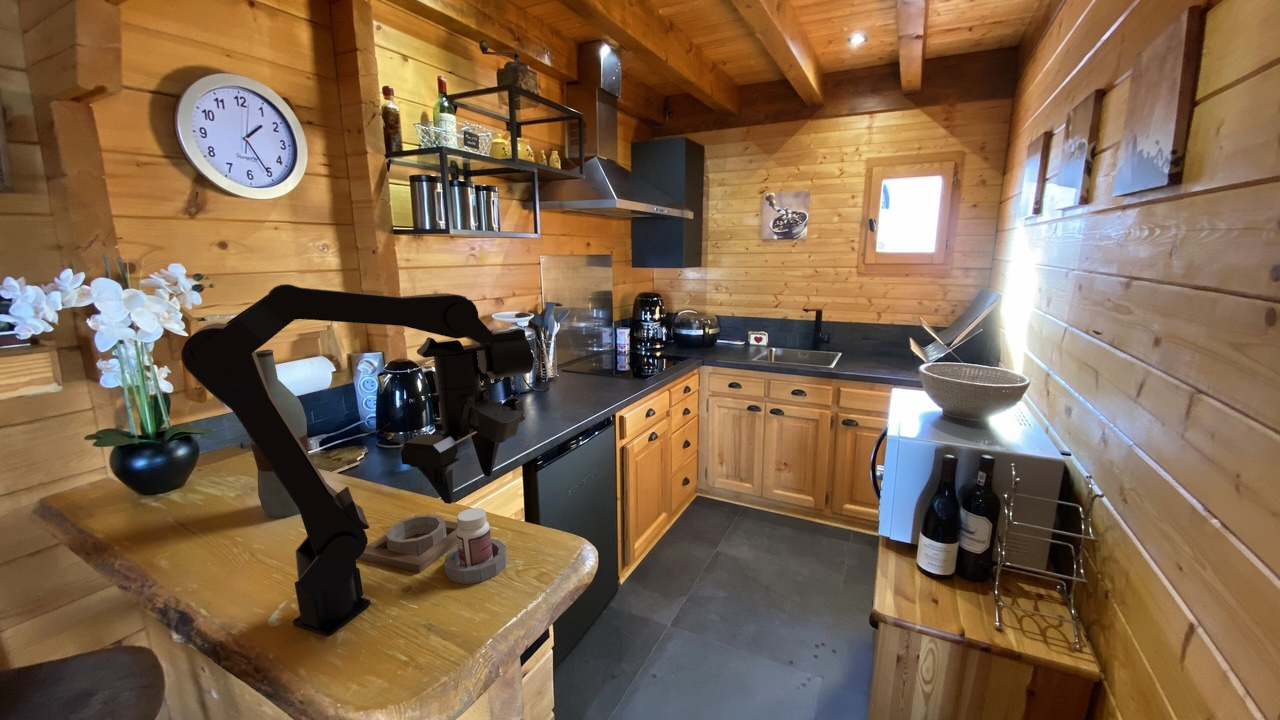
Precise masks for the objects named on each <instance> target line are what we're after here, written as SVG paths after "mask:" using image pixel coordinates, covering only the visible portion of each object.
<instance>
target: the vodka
mask: <svg viewBox="0 0 1280 720" xmlns="http://www.w3.org/2000/svg"><path fill="white" fill-rule="evenodd" d="M255 353H256V355H257V358H258V361H259V364H260V366H261V369H262V372H263V375H264V378H265V381H266V384H267V387H268V390H269V392H270V394H271V396H272V397H273V399H274V400H275V402H276V404H277V405H278V407H279V408H280V410H281V411H282V413H283V415H284V416H285V418H286V419H287V421H288V423H289V424H290V426H291V427H292V429H293V431H294V432H295V434H296V435H297V437H298V438H299V440H300V442H301V443H302V445H303V446H304V448H305V450H306V451H307V453H308V454H309V444H308V443H309V442H308V429H307V425H308V423H307V422H308V421H307V416H306V413H305V410H304V409H305V408H304V406H303V404H302V402H301V401H300V399H299V398H298V397H297V396H296V395H295V394H294V392H292V391H291V390H290V389H289V388H288V387H287V386H285V384H283V382H282V381H281V380H280V379H279V378H278V373H277V367H276V366H277V365H276V362H275V357H274V350H273V349H261V350H256V351H255ZM245 432H246V436H247V438H248V440H249V443H250V447H251V450H252V454H253V457H254V461H255V464H256V468H257V495H258V499H259V501H260V504H261V508H262V510H263V511H264V513H265V515H266V516H267V517H268V518H272V519H282V518H288V517H294V516H297V515H301V514H300V511H299V509H298V507H297V506H296V504H295V503H294V501H293V500H292V498H291V497H290V495H289V494H288V492H287V491H286V489H285V488H284V486H283V485H282V483H281V482H280V480H279V479H278V477H277V476H276V474H275V473H274V471H273V470H272V468H271V467H270V465H269V464H268V462H267V461H266V459H265V458H264V456H263V455H262V453H261V452H260V450H259V449H258V447H257V446H256V444H255V443H254V441H253V440H252V438H251V437H250V435H249V434H248V432H247V431H246V430H245Z"/></svg>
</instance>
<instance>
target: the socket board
mask: <svg viewBox="0 0 1280 720" xmlns="http://www.w3.org/2000/svg"><path fill="white" fill-rule="evenodd" d="M457 528H458V522H455V521H450V520H444V519H443V517H442V516H440V515H436V514H430V513H428V514H420V515H419V514H415V515H413V516H410V517H407V518H403V519H401V520H399V521H397V522H396V523H394V524H392V525H390V526H389V528H388V529H387V531H386V533H385V534H383V535H382V536H380V537H378V538H377V539H375V540H374V541H372V542H369V543H368V544H367V545H366V548H365V551H364V552H363V553H362V555H361V556H360V557H359V558H358V559H360V560H365V561H368V562H372V563H376V564H377V563H378V564H381V565H386V566H390V567H395V568H398V569H403V570H408V571H411V572H415V573H421V572H423V571H425V570H426V568H428V567H429V566H430V565H432V564H433V563H434V562H436V561H437V560H439V558H441V557H443V556H444V555H445V554H447V553H448V552H449V551H450V550H452V549H453V548H454V547H456V546H457V537H456V530H457ZM423 533H424V535H422V534H423ZM416 534H417V535H422V536H420V537H415V538H410V537H413V536H416ZM407 538H408V539H407Z"/></svg>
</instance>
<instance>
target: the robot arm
mask: <svg viewBox="0 0 1280 720" xmlns="http://www.w3.org/2000/svg"><path fill="white" fill-rule="evenodd" d="M295 320H306V321H307V320H308V321H322V322H338V323H339V322H340V323H353V324H355V323H357V324H367V325H368V324H369V325H384V326H401V327H405V328H410V329H414V330H418V331H422V332H425V333H429V334H433V335H439V336H443V337H447V338H452V339H455V340H447V341H438V342H437V341H436V340H435V338H432V337H430V336H428V337H426V340H425V341H424V343H423V344H422V345H421V346H420V347H419V348H417V350H416V354H417V355H419V356H420V357H422V358H423V359H424V358H426V359H427V358H433V364H434V372H435V383H436V391H437V392H435V393H432V394H430V397H431V398H430V400H431V402H432V403H438V406H439V407H438V408H439V418H440V420H439V421H436V422H435V423H434V424H433V425H434V431H439V432H442V433H443V434H441V435H438V434H428V433H421V434H420V435H417V436H416V437H413V438H411V439H409V440H407V441H405V442H404V443H403V445H401V447H400V448H399V451H400V457H401V458H400V460H401V464H402V465H407V466H410V467H412V468H417V469H418V470H419V472H420V473H422V474H423V476H424V477H425V478H426V480H428V482H429V483H430V484H431V486H432V488H433V489H434V490H435V491H436V493H437V494H438V496H440V498H441V501H442V502H444V504H449V505H451V504H452V503H453V502H454V479H453V478H454V477H453V474H454V472H453V469H454V467H455V466H456V465H457V464H458V462H459V461H460V458H456V457H457V454H458V452H459V449H458V444H459V443H460V442H462V441H464V440H466V439H468V438H471V441H472V443H473V446H474V447H473V448H474V449H475V454H476V456H477V460H478V463H479V466H480V469H481V472H482V474H483V476H484V477H489V478H490V477H491V476H492V475H493V472H494V466H495V462H496V459H497V453H498V450H499V447H500V444H502V443H504V442H506V441H507V440H509V438H511V437H514V436H517V433H518V429H519V426H520V425H519V424H520V423H522V422H523V421H525V419H526V417H525V415H524V412H525V411H524V406H523V400H522V398H519V397H517V396H514V395H513V396H511V397H509V398H507V399H506V400H505V401H504V402H503V401H502V400H499V401H493V400H491V397H490V392H489V390H488V388H487V387H481V381H480V379H481V378H480V371H481V373H482V374H487V376H488V377H489V378H490V379H491V380H495V379H501V378H507V377H513V376H520V375H526V374H530V373H531V372H532V371H533V368H534V361H535V359H534V352H533V351H532V348H531V344H530V343H529V340H528V338H527V337H526V330H525V329H523V328H519V327H518V328H511V329H509V330H508V329H507V330H504V331H503V330H502V331H496V332H495V331H494V332H492V331H491V330H490V329H489V328H488V327H487V326H486V325H485V323H484V322H483V321H482V320H481V319H480V318H479V311H478V308H477V306H476V304H475V303H474V302H473V301H472V299H471V298H469V297H468V296H464V295H461V294H455V293H448V292H444V293H442V292H441V293H429V294H417V295H405V296H395V295H394V296H393V295H385V294H384V295H382V294H373V293H362V292H361V293H360V292H352V291H344V290H343V291H341V290H331V289H323V288H322V289H318V288H312V287H311V288H310V287H309V288H308V287H301V286H300V287H299V286H296V285H294V284H289V283H288V284H287V283H286V284H285V283H283V284H279V285H276V286H274V287H272V288H271V289H270V290H269V291H268V293H267V294H266V295H265V296H263V297H262V298H261V299H259V300H258V301H256V302H255V303H253V304H252V305H250V306H249V307H247V308H246V309H244V310H242V312H240V313H238V314H237V315H236V316H234V317H233V318H231V319H230V320H228V321H227V322H226V323H223V322H221V323H219V322H218V323H217V322H216V323H211V324H207V325H205V326H203V327H200V328H199V329H197V330H196V331H195V332H194V333H193V334H192V335H191V336H190V337H189V338H188V339H187V340H186V341H185V343H184V345H183V348H182V350H181V352H180V353H181V361H182V364H183V366H184V368H185V369H186V370H187V372H189V374H191V375H192V376H193V377H194V378H195V379H196V380H197V381H198V382H199V383H200V385H202V386H203V387H204V389H206V390H207V391H208V392H209V393H210V394H211V395H213V396H214V397H215V398H216V399H217V400H218V401H220V402H221V403H222V404H223V405H225V406H226V407H228V408H229V409H230V411H232V413H234V415H235V416H236V417H237V419H238V421H239V422H240V424H241V425H242V427H243V428H244V429H245V432H246V431H247V432H248V434H249V435H250V437H251V438H252V440H253V441H254V443H255V444H256V446H257V447H258V449H259V450H260V452H261V453H262V455H263V456H264V458H265V459H266V461H267V462H268V464H269V465H270V467H271V468H272V470H273V471H274V473H275V474H276V476H277V477H278V479H279V480H280V482H281V483H282V485H283V486H284V488H285V489H286V491H287V492H288V494H289V495H290V497H291V498H292V500H293V501H294V503H295V504H296V506H297V507H298V509H299V511H300V514H299V515H300V516H301V520H302V523H303V526H304V529H305V532H306V535H307V536H306V538H305V539H304V540H303V541H302V543H300V544H299V546H298V547H297V548H296V549H295V551H294V552H295V561H296V571H297V581H295V582H294V583H293V584H294V589H295V594H296V599H297V606H298V610H299V611H298V612H299V615H298V616H297V617H296V618H294V619H293V620H292V625H293V626H295V627H299V628H301V629H306V630H307V631H311V632H315V633H318V634H321V635H324V636H330V635H332V634H333V633H335V632H336V631H338V630H339V629H340V628H342V627H343V626H344V625H345V624H347V623H348V622H349V621H351V620H352V619H354V618H355V617H356V616H357V615H359V614H360V613H361V612H362V611H364V610H365V609H366V608H369V606H370V605H372V603H371V599H369V598H365V597H363V596H364V590H363V584H362V578H361V577H362V576H361V570H360V568H358V567H357V560H358V559H359V557H360V556H361V555H362V553H363V552H364V551H365V548H366V546H367V545H369V543H368V537H367V534H366V531H365V530H369V529H370V526H369V523H368V520H367V518H366V515H365V512H364V510H363V507H361V506H360V505H358V504H357V503H356V501H354V499H353V498H354V497H353V496H352V492H351V491H350V487H349V486H346V487H344V488H343V489H342V490H340V491H339V492H338V491H337V490H335V489H334V487H333V488H332V486H330V485H329V483H328V482H327V481H326V480H325V478H324V477H323V475H322V474H321V472H320V470H319V469H318V467H317V465H316V464H315V462H314V461H313V459H312V458H311V456H310V455H309V452H308V453H307V451H306V450H305V448H304V446H303V445H302V443H301V442H300V440H299V438H298V437H297V435H296V434H295V432H294V431H293V429H292V427H291V426H290V424H289V423H288V421H287V419H286V418H285V416H284V415H283V413H282V411H281V410H280V408H279V407H278V405H277V404H276V402H275V400H274V399H273V397H272V396H271V394H270V392H269V390H268V387H267V384H266V381H265V378H264V375H263V372H262V369H261V366H260V364H259V361H258V358H257V355H256V353H255V352H256V351H258V349H260V348H261V347H262V346H263V345H265V344H266V343H267V342H269V340H271V339H272V338H274V337H275V336H276V335H277V334H278V333H280V332H281V331H282V330H283V329H285V328H286V327H287V326H289V325H290V324H291V323H293V322H294V321H295ZM463 338H465V339H468V340H470V341H473V342H476V343H475V344H468V345H467V344H465V345H463V344H462V343H461V341H460V340H459V339H463ZM247 432H246V433H247Z"/></svg>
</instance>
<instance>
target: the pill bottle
mask: <svg viewBox="0 0 1280 720" xmlns="http://www.w3.org/2000/svg"><path fill="white" fill-rule="evenodd" d="M456 520H457V522H456V523H458V528H457V530H456V537H457V545H458V553H459V566H464V567H470V566H478V565H481V564H484V563H486V562H489V561H491V560H492V559H493V558H494V555H493V553H492V544H491V539H492V536H491V526H490V524H489V521H487V520H488V518H487V512H486V510H485V509H484V508H482V507H481V508H480V507H474V508H468V509H465V510H463V511H461V512H459V513H458V515H457V516H456ZM457 545H456V546H457Z"/></svg>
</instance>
